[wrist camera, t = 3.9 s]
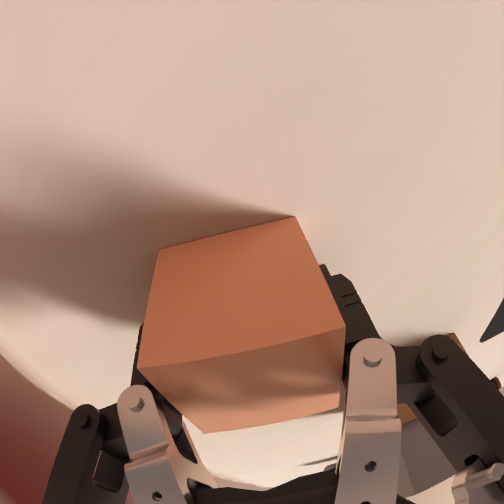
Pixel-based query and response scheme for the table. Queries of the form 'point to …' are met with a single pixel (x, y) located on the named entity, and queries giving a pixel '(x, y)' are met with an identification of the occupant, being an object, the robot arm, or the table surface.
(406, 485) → the gray middle block
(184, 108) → the table surface
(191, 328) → the terracotta block
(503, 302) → the tablet
